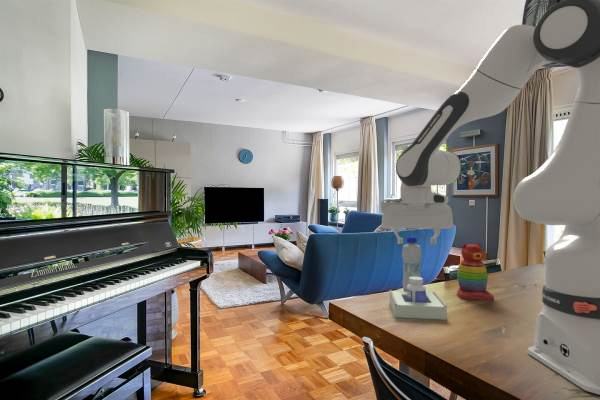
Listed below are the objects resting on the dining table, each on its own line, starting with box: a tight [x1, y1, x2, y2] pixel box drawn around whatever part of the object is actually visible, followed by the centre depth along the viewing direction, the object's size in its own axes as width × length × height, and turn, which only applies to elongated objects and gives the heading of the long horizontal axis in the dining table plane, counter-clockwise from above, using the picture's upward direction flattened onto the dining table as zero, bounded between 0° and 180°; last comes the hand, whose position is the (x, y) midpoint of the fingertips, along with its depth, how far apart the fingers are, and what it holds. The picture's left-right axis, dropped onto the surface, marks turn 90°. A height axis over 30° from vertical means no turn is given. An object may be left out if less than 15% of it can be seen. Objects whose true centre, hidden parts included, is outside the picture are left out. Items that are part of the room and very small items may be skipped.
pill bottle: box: [407, 277, 427, 303], centre depth 100 cm, size 5×5×10 cm
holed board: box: [389, 289, 448, 321], centre depth 100 cm, size 14×14×4 cm
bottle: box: [401, 236, 423, 292], centre depth 118 cm, size 7×7×20 cm
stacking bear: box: [456, 243, 495, 301], centre depth 114 cm, size 11×10×18 cm
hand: (416, 243), depth 100 cm, fingers open, 8 cm apart
